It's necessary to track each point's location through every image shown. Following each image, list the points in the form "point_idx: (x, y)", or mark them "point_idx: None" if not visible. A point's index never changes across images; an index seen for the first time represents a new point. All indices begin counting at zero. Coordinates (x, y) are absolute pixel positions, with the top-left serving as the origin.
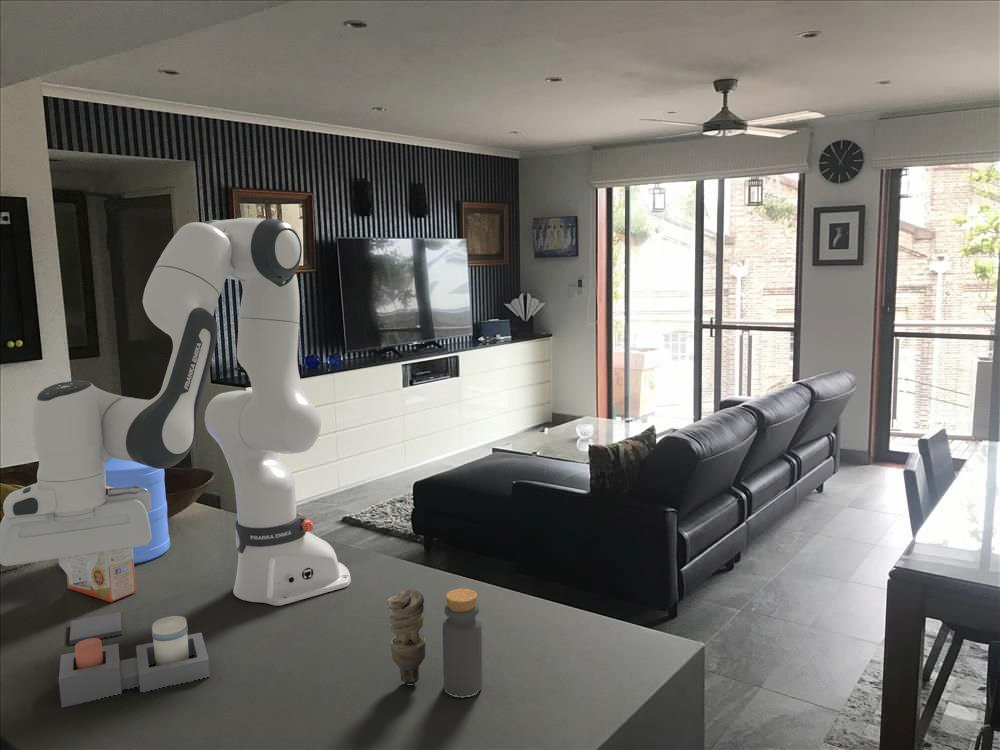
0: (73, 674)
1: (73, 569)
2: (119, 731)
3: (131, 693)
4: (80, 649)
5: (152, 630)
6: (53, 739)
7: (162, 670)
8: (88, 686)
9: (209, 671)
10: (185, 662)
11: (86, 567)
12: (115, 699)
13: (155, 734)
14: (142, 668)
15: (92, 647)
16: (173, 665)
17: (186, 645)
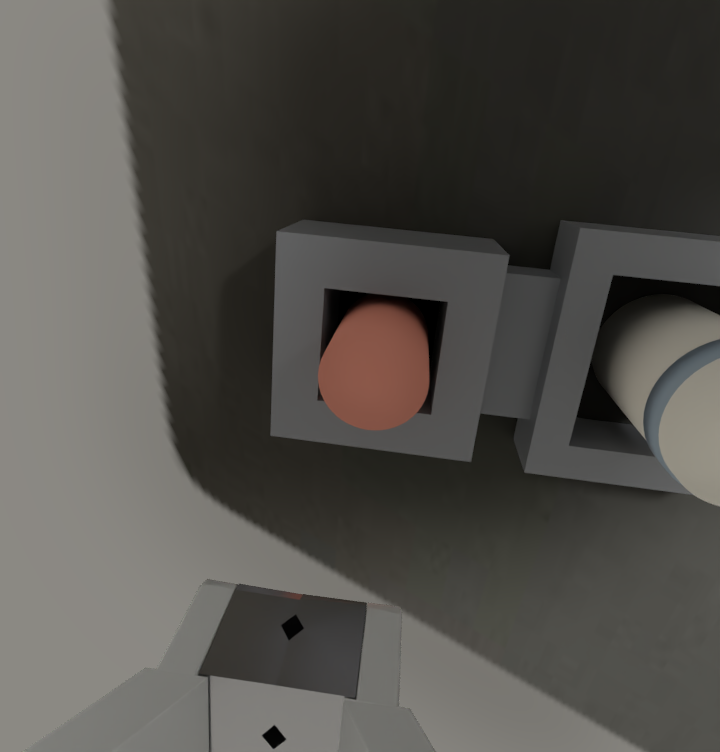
0: (317, 429)
1: (203, 692)
2: (423, 583)
3: (490, 423)
4: (339, 414)
5: (662, 415)
6: (276, 530)
7: (603, 480)
8: None
9: None
10: None
11: (347, 750)
12: None
13: (496, 639)
14: (547, 438)
15: (386, 427)
16: (648, 478)
17: None
